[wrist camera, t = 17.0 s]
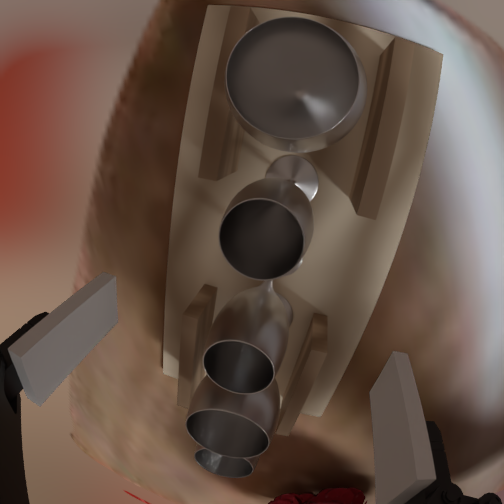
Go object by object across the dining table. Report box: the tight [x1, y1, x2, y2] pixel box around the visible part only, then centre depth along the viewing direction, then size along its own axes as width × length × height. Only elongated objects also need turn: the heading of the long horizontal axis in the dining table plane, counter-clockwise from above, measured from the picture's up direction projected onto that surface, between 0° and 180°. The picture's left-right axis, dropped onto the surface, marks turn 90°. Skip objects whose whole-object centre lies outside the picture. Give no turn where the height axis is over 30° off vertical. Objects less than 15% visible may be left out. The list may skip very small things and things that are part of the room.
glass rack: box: [163, 5, 443, 436], centre depth 23 cm, size 18×36×6 cm, turn 169°
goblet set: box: [186, 17, 367, 478], centre depth 19 cm, size 28×6×13 cm, turn 171°
